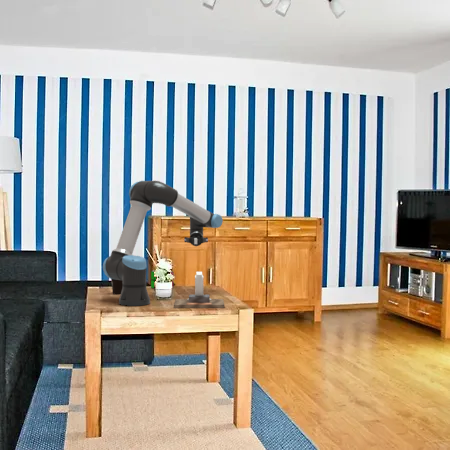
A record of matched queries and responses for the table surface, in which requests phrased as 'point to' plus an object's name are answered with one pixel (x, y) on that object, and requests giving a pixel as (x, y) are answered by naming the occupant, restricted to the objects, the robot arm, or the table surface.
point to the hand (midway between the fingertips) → (195, 241)
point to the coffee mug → (117, 286)
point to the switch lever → (198, 284)
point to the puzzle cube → (155, 279)
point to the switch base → (214, 304)
